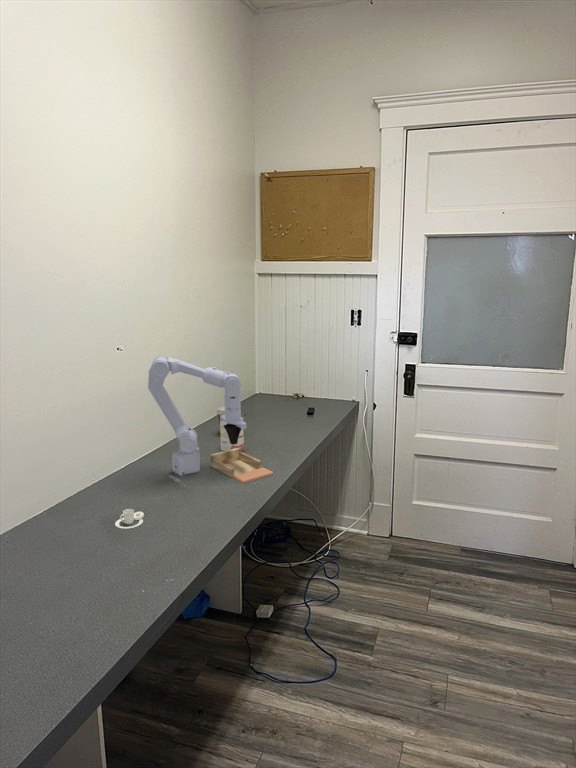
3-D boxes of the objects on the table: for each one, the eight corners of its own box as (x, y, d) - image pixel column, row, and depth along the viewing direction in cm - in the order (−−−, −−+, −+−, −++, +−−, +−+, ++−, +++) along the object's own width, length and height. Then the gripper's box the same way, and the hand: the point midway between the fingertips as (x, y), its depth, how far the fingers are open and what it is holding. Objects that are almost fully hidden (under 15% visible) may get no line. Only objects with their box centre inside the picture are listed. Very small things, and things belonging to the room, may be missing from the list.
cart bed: (231, 481, 196) (231, 465, 195) (210, 470, 207) (210, 454, 206) (261, 472, 204) (261, 457, 203) (240, 462, 215) (239, 447, 214)
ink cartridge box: (244, 449, 229) (243, 414, 226) (238, 453, 225) (237, 418, 222) (227, 446, 233) (226, 412, 230) (220, 450, 229) (219, 415, 226)
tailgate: (233, 479, 195) (243, 485, 191) (233, 475, 195) (243, 481, 190) (263, 471, 203) (273, 476, 198) (263, 467, 203) (273, 472, 198)
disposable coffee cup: (216, 437, 245) (215, 411, 242) (218, 431, 254) (217, 405, 252) (238, 437, 245) (237, 410, 243) (239, 430, 254) (238, 405, 252)
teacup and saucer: (142, 515, 172) (141, 502, 171) (148, 525, 165) (147, 512, 164) (112, 521, 168) (111, 508, 167) (118, 532, 161) (117, 519, 160)
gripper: (253, 409, 198) (254, 446, 201) (231, 401, 209) (232, 436, 212) (236, 413, 194) (237, 450, 197) (214, 405, 205) (216, 440, 208)
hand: (233, 443), depth 204 cm, fingers closed
